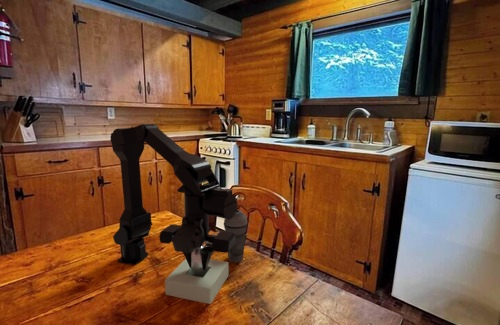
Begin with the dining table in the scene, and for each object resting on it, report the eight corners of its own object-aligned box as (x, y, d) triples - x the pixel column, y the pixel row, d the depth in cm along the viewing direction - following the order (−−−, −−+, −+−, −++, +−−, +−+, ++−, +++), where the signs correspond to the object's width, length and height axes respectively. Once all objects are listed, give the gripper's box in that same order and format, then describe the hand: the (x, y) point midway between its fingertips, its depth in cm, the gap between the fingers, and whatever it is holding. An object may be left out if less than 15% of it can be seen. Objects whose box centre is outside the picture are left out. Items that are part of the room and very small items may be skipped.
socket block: (165, 294, 68) (164, 279, 67) (189, 268, 79) (188, 255, 78) (210, 304, 64) (210, 288, 64) (228, 275, 76) (228, 262, 75)
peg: (189, 277, 70) (188, 248, 69) (195, 270, 74) (194, 242, 72) (201, 280, 69) (200, 251, 68) (207, 272, 73) (207, 244, 71)
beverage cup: (244, 266, 80) (244, 200, 77) (220, 263, 82) (219, 199, 78) (249, 254, 87) (250, 193, 84) (227, 251, 89) (227, 192, 85)
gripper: (143, 218, 63) (147, 279, 66) (219, 228, 58) (219, 294, 61) (170, 203, 74) (172, 256, 76) (236, 210, 69) (236, 267, 71)
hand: (198, 268), depth 71 cm, fingers closed on peg, 3 cm apart
